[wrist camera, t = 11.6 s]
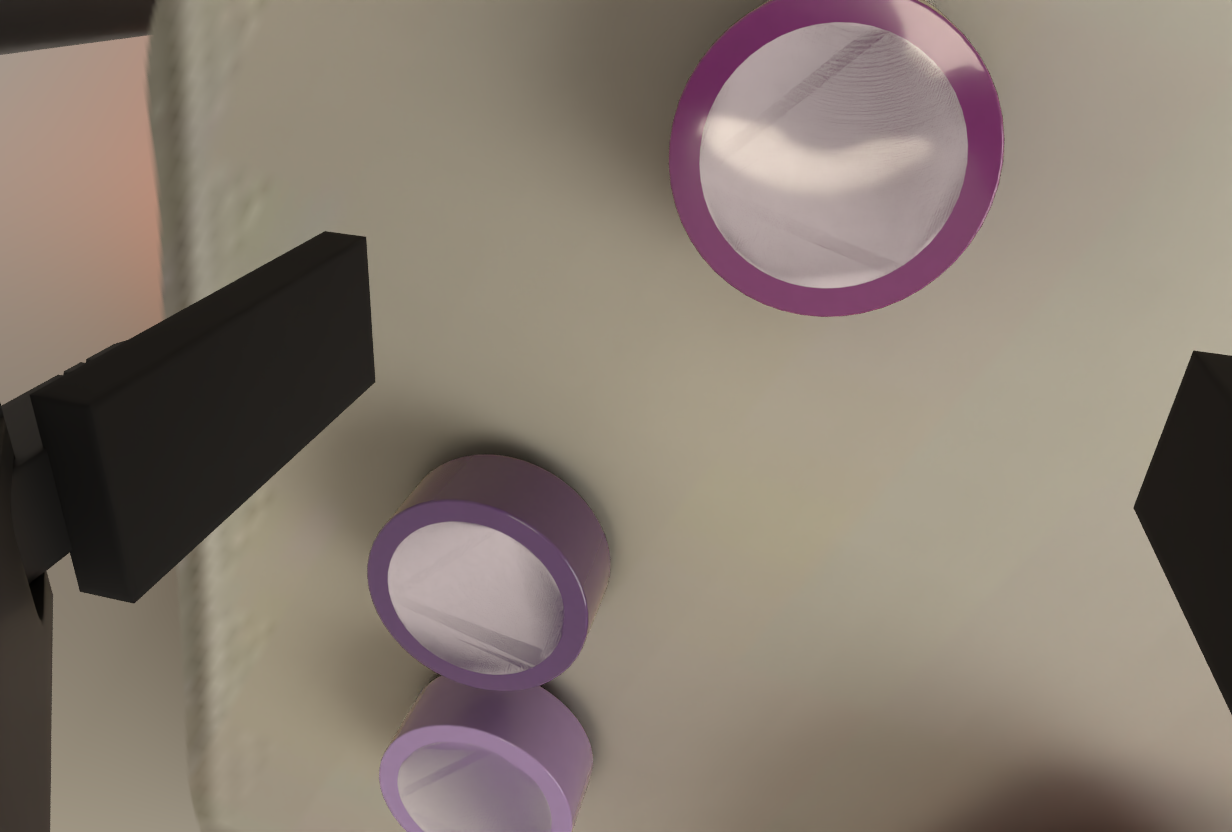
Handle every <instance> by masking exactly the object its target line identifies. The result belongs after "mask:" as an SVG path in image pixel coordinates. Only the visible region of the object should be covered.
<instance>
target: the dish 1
mask: <svg viewBox="0 0 1232 832" xmlns="http://www.w3.org/2000/svg"><path fill="white" fill-rule="evenodd" d="M592 769H593V755H592V749H591V745H590V742H589V739H588V737H587V734H586V732H585V730H584V728H583V727H582V725H581V724H580V722H579V721H578V719H577V718H576V717H575V715H574V714H573V713H572V712H571V711H570V710H569V708H567V707H566V706H565V705H564V704H563V703H562V702H561V701H560V700H559V699H558V698H556V697H555V696H554V695H552V694H551V693H550V692H548V691H547V690H545V689H544V688H542V687H540V686H537V687H533V688H529V689H525V690H518V691H491V690H484V689H479V688H474V687H470V686H467V685H463V684H460V683H458V682H455V681H453V680H450V679H448V678H446V677H444V676H440V677H438V678H436V679H435V680H433V681H432V682H430V683H429V684H428V685H427V686H426V687H425V688H424V689H423V690H422V691H421V693H420V694H419V696H418V697H417V699H416V701H415V702H414V704H413V706H412V707H411V709H410V711H409V712H408V714H407V716H406V717H405V719H404V721H403V722H402V724H401V726H400V727H399V729H398V731H397V732H396V734H395V736H394V737H393V739H392V741H391V742H390V744H389V746H388V747H387V749H386V751H385V753H384V755H383V757H382V759H381V764H380V769H379V780H380V787H381V791H382V794H383V797H384V800H385V802H386V804H387V806H388V808H389V809H390V811H391V813H392V814H393V816H394V817H395V819H396V820H397V821H398V822H399V824H400V825H401V826H402V827H403V828H404V829H405V830H406V831H407V832H573V829H574V826H575V823H576V820H577V817H578V814H579V811H580V808H581V805H582V802H583V799H584V796H585V793H586V790H587V787H588V784H589V781H590V778H591V775H592Z"/></svg>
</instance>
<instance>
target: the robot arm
mask: <svg viewBox="0 0 1232 832" xmlns="http://www.w3.org/2000/svg"><path fill="white" fill-rule="evenodd" d="M374 383H375V370H374V354H373V338H372V322H371V307H370V291H369V275H368V260H367V244H366V237H363V236H356V235H348V234H341V233H334V232H326V231H325V232H323V233H321V234H319V235H317V236H315V237H314V238H312V239H310V240H308V241H306V242H305V243H303V244H301V245H299V246H297V247H296V248H294V249H292V250H290V251H288V252H286V253H285V254H283V255H281V256H279V257H277V258H276V259H274V260H272V261H270V262H268V263H267V264H265V265H263V266H261V267H259V268H258V269H256V270H254V271H252V272H250V273H248V274H247V275H245V276H243V277H241V278H239V279H238V280H236V281H234V282H232V283H230V284H229V285H227V286H225V287H223V288H221V289H220V290H218V291H216V292H214V293H212V294H210V295H209V296H207V297H205V298H203V299H201V300H200V301H198V302H196V303H194V304H192V305H191V306H189V307H187V308H185V309H183V310H181V311H180V312H178V313H176V314H174V315H172V316H171V317H169V318H167V319H165V320H163V321H162V322H160V323H158V324H156V325H154V326H153V327H151V328H149V329H147V330H145V331H144V332H142V333H140V334H138V335H136V336H134V337H133V338H131V339H129V340H126V341H123V342H120V343H116V344H113V345H112V346H110V347H108V348H106V349H104V350H102V351H101V352H99V353H97V354H95V355H93V356H92V357H90V358H88V359H86V363H82V362H80V363H79V364H77V365H75V366H73V367H71V368H70V369H68V370H66V371H64V375H57V376H55V377H53V378H51V379H50V380H48V381H46V382H44V383H42V384H40V385H38V386H37V387H35V388H33V389H31V390H30V391H28V392H26V393H24V394H22V395H20V396H19V397H17V398H15V399H13V400H11V401H9V402H8V403H6V404H4V405H2V406H1V404H0V832H50V792H51V789H50V788H51V710H52V707H51V705H52V630H53V627H52V625H53V624H52V623H53V622H52V621H53V594H52V590H51V586H50V582H49V579H48V575H47V572H46V570H48V569H49V568H50V567H51V566H53V565H54V564H55V563H57V562H58V561H59V560H60V559H62V558H63V557H64V556H66V555H67V554H68V553H69V552H70V555H71V558H72V562H73V566H74V570H75V574H76V578H77V582H78V586H79V590H80V592H84V593H89V594H94V595H98V596H102V597H107V598H112V599H116V600H121V601H126V602H130V603H135V602H136V601H137V600H139V599H140V598H141V597H142V596H143V595H144V594H145V593H146V592H147V591H148V590H149V589H150V588H152V587H153V586H154V585H155V584H156V583H157V582H158V581H159V580H160V579H161V578H162V577H163V576H165V575H166V574H167V573H168V572H169V571H170V570H171V569H172V568H173V567H174V566H176V565H177V564H178V563H179V562H180V561H181V560H182V559H183V558H184V557H185V556H186V555H187V554H189V553H190V552H191V551H192V550H193V549H194V548H195V547H196V546H197V545H198V544H199V543H201V542H202V541H203V540H204V539H205V538H206V537H207V536H208V535H209V534H210V533H211V532H213V531H214V530H215V529H216V528H217V527H218V526H219V525H220V524H221V523H222V522H223V521H224V520H226V519H227V518H228V517H229V516H230V515H231V514H232V513H233V512H234V511H235V510H236V509H238V508H239V507H240V506H241V505H242V504H243V503H244V502H245V501H246V500H247V499H248V498H250V497H251V496H252V495H253V494H254V493H255V492H256V491H257V490H258V489H259V488H260V487H261V486H263V485H264V484H265V483H266V482H267V481H268V480H269V479H270V478H271V477H272V476H273V475H275V474H276V473H277V472H278V471H279V470H280V469H281V468H282V467H283V466H284V465H285V464H286V463H288V462H289V461H290V460H291V459H292V458H293V457H294V456H295V455H296V454H297V453H298V452H300V451H301V450H302V449H303V448H304V447H305V446H306V445H307V444H308V443H309V442H310V441H312V440H313V439H314V438H315V437H316V436H317V435H318V434H319V433H320V432H321V431H322V430H323V429H325V428H326V427H327V426H328V425H329V424H330V423H331V422H332V421H333V420H334V419H335V418H337V417H338V416H339V415H340V414H341V413H342V412H343V411H344V410H345V409H346V408H347V407H349V406H350V405H351V404H352V403H353V402H354V401H355V400H356V399H357V398H358V397H359V396H360V395H362V394H363V393H364V392H365V391H366V390H367V389H368V388H369V387H370V386H371V385H372V384H374ZM1134 510H1135V512H1136V514H1137V516H1138V518H1139V520H1140V522H1141V524H1142V527H1143V529H1144V531H1145V533H1146V535H1147V537H1148V539H1149V541H1150V543H1151V546H1152V548H1153V550H1154V552H1155V554H1156V556H1157V558H1158V560H1159V562H1160V565H1161V567H1162V569H1163V571H1164V573H1165V575H1166V577H1167V579H1168V581H1169V584H1170V586H1171V588H1172V590H1173V592H1174V594H1175V596H1176V598H1177V600H1178V602H1179V605H1180V607H1181V609H1182V611H1183V613H1184V615H1185V617H1186V619H1187V621H1188V624H1189V626H1190V628H1191V630H1192V632H1193V634H1194V636H1195V638H1196V640H1197V643H1198V645H1199V647H1200V649H1201V651H1202V653H1203V655H1204V657H1205V659H1206V662H1207V664H1208V666H1209V668H1210V670H1211V672H1212V674H1213V676H1214V678H1215V681H1216V683H1217V685H1218V687H1219V689H1220V691H1221V693H1222V695H1223V697H1224V699H1225V702H1226V704H1227V706H1228V708H1229V710H1230V712H1231V714H1232V356H1229V355H1221V354H1214V353H1207V352H1200V351H1193V353H1192V356H1191V358H1190V361H1189V364H1188V366H1187V369H1186V371H1185V374H1184V377H1183V379H1182V382H1181V385H1180V387H1179V390H1178V392H1177V395H1176V398H1175V400H1174V403H1173V405H1172V408H1171V411H1170V413H1169V416H1168V419H1167V421H1166V424H1165V426H1164V429H1163V432H1162V434H1161V437H1160V439H1159V442H1158V445H1157V447H1156V450H1155V453H1154V455H1153V458H1152V460H1151V463H1150V466H1149V468H1148V471H1147V473H1146V476H1145V479H1144V481H1143V484H1142V487H1141V489H1140V492H1139V494H1138V497H1137V500H1136V502H1135V505H1134Z"/></svg>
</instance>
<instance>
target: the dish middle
mask: <svg viewBox="0 0 1232 832" xmlns="http://www.w3.org/2000/svg"><path fill="white" fill-rule="evenodd" d="M609 577H610V554H609V547H608V544H607V540H606V537H605V534H604V532H603V529H602V527H601V525H600V522H599V521H598V519H597V518H596V516H595V514H594V513H593V511H592V510H591V508H590V507H589V506H588V504H587V503H586V502H585V501H584V499H583V498H582V497H581V496H580V495H579V494H578V493H577V492H576V491H575V490H574V489H573V488H571V487H570V486H569V485H568V484H567V483H565V482H564V481H563V480H562V479H560V478H558V477H557V476H555V475H554V474H552V473H551V472H549V471H547V470H545V469H543V468H541V467H539V466H537V465H535V464H532V463H529V462H527V461H524V460H521V459H517V458H513V457H509V456H502V455H495V454H479V455H470V456H465V457H461V458H457V459H453V460H451V461H449V462H446V463H444V464H442V465H440V466H439V467H437V468H435V469H434V470H432V471H431V472H430V473H429V474H428V475H426V476H425V477H424V478H423V479H422V480H421V482H420V483H419V484H418V485H417V486H416V488H415V489H414V490H413V491H412V492H411V494H410V495H409V496H408V497H407V499H406V500H405V501H404V502H403V503H402V505H401V506H400V507H399V508H398V509H397V511H396V512H395V513H394V514H393V515H392V517H391V518H390V519H389V520H388V521H387V523H386V524H385V525H384V526H383V527H382V529H381V530H380V531H379V533H378V534H377V536H376V538H375V540H374V541H373V544H372V547H371V550H370V553H369V559H368V565H367V578H368V586H369V591H370V595H371V598H372V601H373V604H374V606H375V609H376V611H377V613H378V615H379V617H380V619H381V620H382V622H383V624H384V625H385V627H386V628H387V630H388V631H389V632H390V634H391V635H392V636H393V638H394V639H395V640H396V641H397V642H398V643H399V644H400V645H401V646H402V647H403V648H404V649H405V650H406V651H407V652H408V653H409V654H410V655H411V656H412V657H414V658H415V659H416V660H418V661H419V662H420V663H422V664H423V665H425V666H426V667H428V668H429V669H431V670H432V671H434V672H436V673H438V674H440V675H442V676H444V677H446V678H448V679H450V680H453V681H455V682H458V683H460V684H463V685H467V686H470V687H474V688H479V689H484V690H491V691H518V690H525V689H529V688H533V687H537V686H540V685H542V684H544V683H547V682H549V681H551V680H553V679H554V678H556V677H557V676H559V675H561V674H562V673H563V672H564V671H565V670H566V669H568V668H569V667H570V666H571V665H572V663H573V662H574V661H575V660H576V658H577V657H578V655H579V653H580V652H581V650H582V648H583V646H584V643H585V641H586V638H587V636H588V634H589V631H590V629H591V626H592V624H593V621H594V619H595V616H596V614H597V611H598V609H599V607H600V604H601V602H602V599H603V597H604V594H605V591H606V589H607V586H608V582H609Z"/></svg>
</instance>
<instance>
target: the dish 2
mask: <svg viewBox="0 0 1232 832" xmlns="http://www.w3.org/2000/svg"><path fill="white" fill-rule="evenodd" d="M1004 140H1005V139H1004V126H1003V116H1002V111H1001V107H1000V102H999V98H998V94H997V91H996V89H995V86H994V83H993V81H992V78H991V76H990V73H989V71H988V69H987V68H986V66H985V64H984V62H983V61H982V59H981V57H980V55H979V53H978V52H977V51H976V49H975V48H974V47H973V46H972V44H971V43H970V42H969V40H968V39H967V38H966V37H965V35H964V34H963V33H962V32H961V31H960V30H959V29H958V28H957V27H956V26H955V25H954V24H953V23H952V22H951V21H950V20H949V19H948V18H947V17H946V16H945V15H944V14H942V13H941V12H940V11H939V10H938V9H937V8H935V7H934V6H932V5H931V4H930V3H928V2H927V1H925V0H769V1H768V2H766V3H764V4H762V5H761V6H759V7H757V8H756V9H754V10H752V11H751V12H749V13H748V14H746V15H745V16H744V17H742V18H741V19H740V20H738V21H737V22H736V23H734V24H733V25H732V26H731V27H729V28H728V29H727V30H726V31H725V32H724V33H723V34H722V35H721V36H720V37H719V38H718V39H717V40H716V41H715V42H714V43H713V44H712V46H711V47H710V48H709V49H708V51H707V52H706V53H705V55H704V56H703V57H702V58H701V60H700V61H699V63H698V64H697V66H696V68H695V69H694V71H693V73H692V74H691V76H690V78H689V79H688V81H687V83H686V86H685V88H684V90H683V92H682V95H681V97H680V99H679V102H678V105H677V109H676V112H675V115H674V119H673V123H672V129H671V135H670V141H669V163H668V164H669V175H670V185H671V189H672V194H673V198H674V203H675V206H676V209H677V212H678V214H679V217H680V220H681V223H682V225H683V227H684V229H685V231H686V233H687V235H688V237H689V238H690V240H691V242H692V243H693V245H694V246H695V248H696V249H697V251H698V252H699V254H700V255H701V256H702V258H703V259H704V260H705V261H706V262H707V263H708V264H709V266H710V267H711V268H712V269H713V270H714V271H715V272H716V273H717V274H718V275H719V276H721V277H722V278H723V279H724V280H725V281H726V282H727V283H729V284H730V285H731V286H733V287H734V288H736V289H737V290H739V291H740V292H742V293H743V294H745V295H746V296H748V297H750V298H752V299H754V300H756V301H758V302H760V303H762V304H765V305H768V306H771V307H773V308H776V309H779V310H782V311H786V312H791V313H795V314H800V315H808V316H819V317H832V316H847V315H854V314H861V313H865V312H869V311H873V310H876V309H880V308H883V307H886V306H888V305H891V304H893V303H896V302H898V301H901V300H903V299H905V298H906V297H908V296H910V295H912V294H914V293H916V292H917V291H919V290H921V289H922V288H924V287H925V286H927V285H928V284H929V283H931V282H932V281H934V280H935V279H936V278H938V277H939V276H940V275H941V274H942V273H943V272H944V271H946V270H947V269H948V268H949V267H950V266H951V265H952V264H953V263H954V262H955V261H956V260H957V259H958V258H959V257H960V255H961V254H962V253H963V252H964V251H965V249H966V248H967V247H968V246H969V245H970V243H971V242H972V240H973V239H974V237H975V236H976V234H977V233H978V231H979V229H980V228H981V226H982V225H983V222H984V220H985V218H986V216H987V214H988V212H989V210H990V208H991V206H992V203H993V200H994V197H995V194H996V191H997V188H998V185H999V181H1000V176H1001V171H1002V166H1003V157H1004Z"/></svg>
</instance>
